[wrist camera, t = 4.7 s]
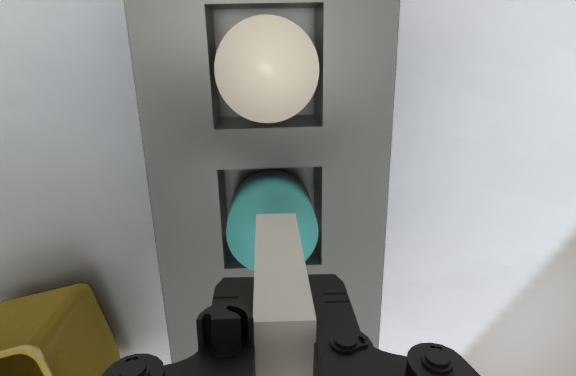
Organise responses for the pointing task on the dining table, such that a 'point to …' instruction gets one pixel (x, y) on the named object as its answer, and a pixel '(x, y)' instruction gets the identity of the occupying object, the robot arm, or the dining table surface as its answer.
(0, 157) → the dining table surface
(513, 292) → the dining table surface
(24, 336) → the flower pot
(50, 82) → the dining table surface
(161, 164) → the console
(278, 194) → the teal button
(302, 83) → the cream button
